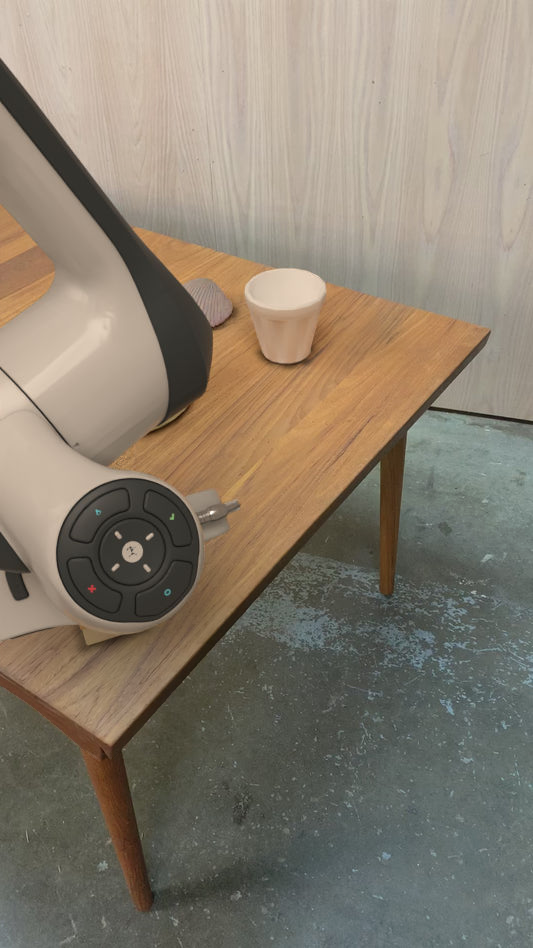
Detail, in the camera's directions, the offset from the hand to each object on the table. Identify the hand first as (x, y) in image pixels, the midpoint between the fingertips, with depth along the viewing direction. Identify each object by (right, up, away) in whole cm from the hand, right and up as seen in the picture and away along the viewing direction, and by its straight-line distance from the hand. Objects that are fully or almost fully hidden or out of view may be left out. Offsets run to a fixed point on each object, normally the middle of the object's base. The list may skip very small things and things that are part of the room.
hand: (91, 552), depth 65 cm
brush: (+1, -6, +5) cm, 8 cm away
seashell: (+5, +29, +43) cm, 52 cm away
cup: (+17, +22, +35) cm, 45 cm away
